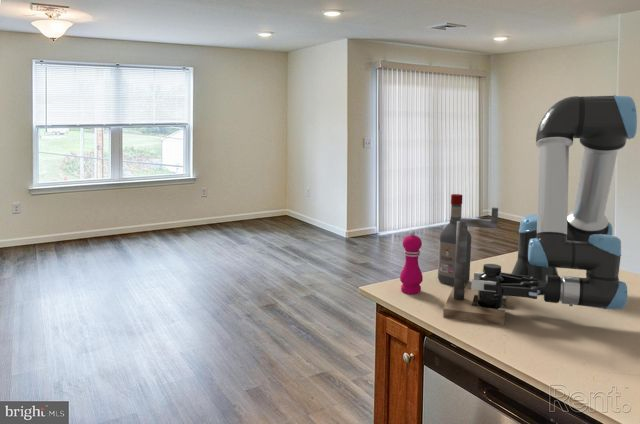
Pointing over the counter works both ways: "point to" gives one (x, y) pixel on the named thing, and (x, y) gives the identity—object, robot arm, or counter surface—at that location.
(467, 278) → the liquor
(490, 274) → the supplement bottle
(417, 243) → the pepper mill
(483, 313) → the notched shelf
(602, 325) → the counter surface
